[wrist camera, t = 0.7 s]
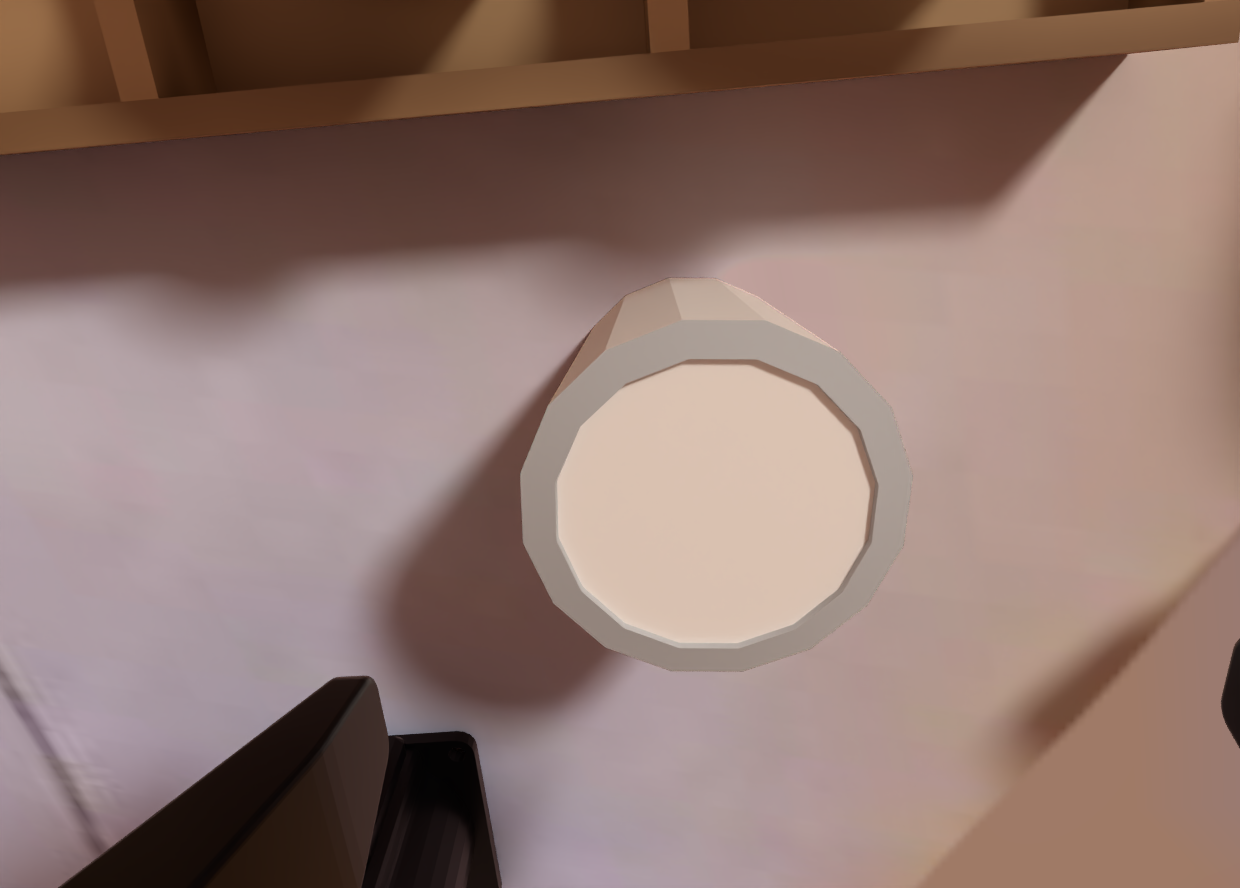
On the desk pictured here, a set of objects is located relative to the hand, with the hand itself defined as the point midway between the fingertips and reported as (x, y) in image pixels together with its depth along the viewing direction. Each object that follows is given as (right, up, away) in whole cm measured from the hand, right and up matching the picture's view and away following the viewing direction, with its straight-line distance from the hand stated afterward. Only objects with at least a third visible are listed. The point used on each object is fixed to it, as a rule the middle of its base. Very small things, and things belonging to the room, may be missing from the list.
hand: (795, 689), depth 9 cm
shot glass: (0, +4, +13) cm, 13 cm away
